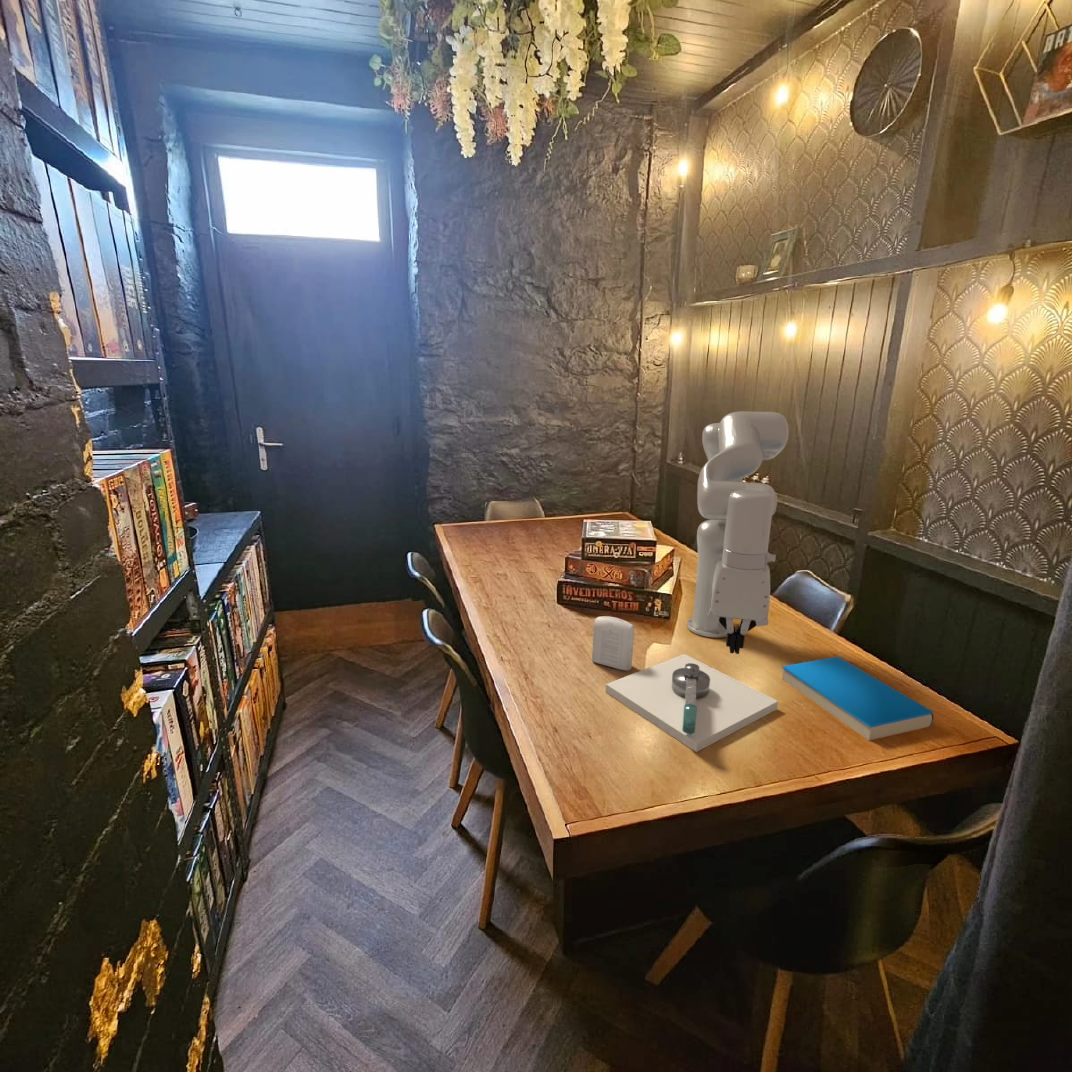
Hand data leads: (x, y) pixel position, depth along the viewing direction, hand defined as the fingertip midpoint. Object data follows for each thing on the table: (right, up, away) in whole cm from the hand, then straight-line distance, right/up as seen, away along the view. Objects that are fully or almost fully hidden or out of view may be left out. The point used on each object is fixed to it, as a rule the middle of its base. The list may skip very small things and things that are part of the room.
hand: (734, 650), depth 109 cm
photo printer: (-19, -10, +34) cm, 40 cm away
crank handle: (-5, -14, +12) cm, 19 cm away
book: (+32, -16, +18) cm, 40 cm away
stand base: (-4, -15, +18) cm, 23 cm away
